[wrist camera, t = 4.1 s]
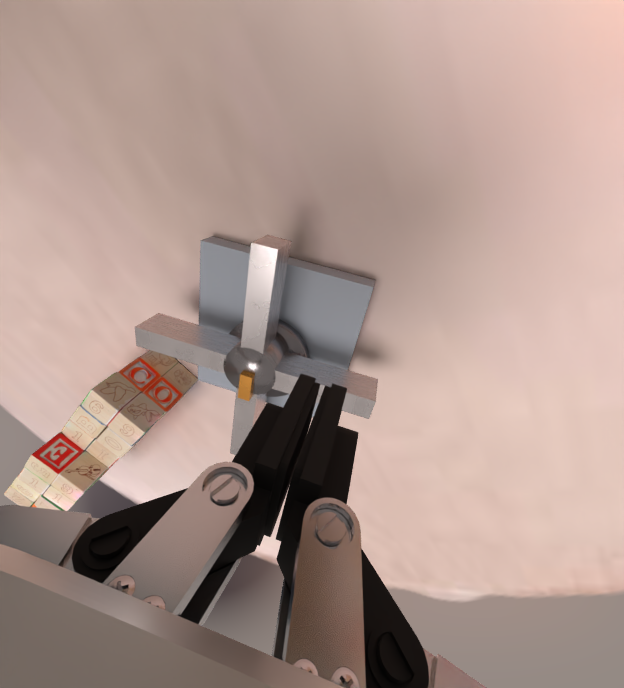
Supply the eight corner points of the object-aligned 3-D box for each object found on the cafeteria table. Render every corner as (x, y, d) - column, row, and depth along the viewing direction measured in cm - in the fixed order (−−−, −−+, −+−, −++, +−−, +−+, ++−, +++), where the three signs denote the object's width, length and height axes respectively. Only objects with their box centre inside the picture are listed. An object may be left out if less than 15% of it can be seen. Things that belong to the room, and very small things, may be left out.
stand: (212, 236, 29) (199, 240, 27) (377, 280, 27) (375, 288, 25) (207, 370, 36) (196, 380, 34) (335, 410, 35) (332, 424, 33)
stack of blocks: (158, 341, 36) (60, 410, 26) (200, 378, 37) (123, 460, 27) (90, 422, 46) (0, 496, 36) (125, 450, 48) (47, 529, 37)
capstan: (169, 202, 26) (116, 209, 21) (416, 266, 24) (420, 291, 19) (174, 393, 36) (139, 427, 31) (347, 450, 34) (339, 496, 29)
